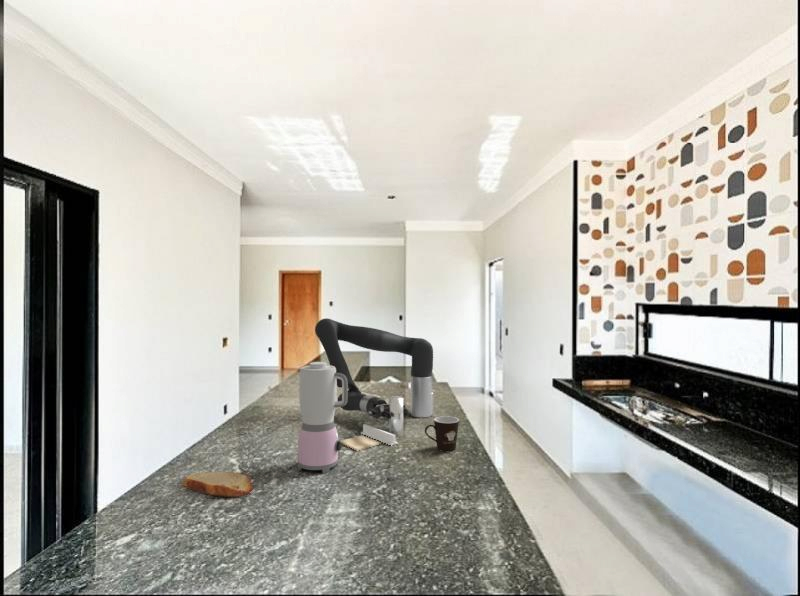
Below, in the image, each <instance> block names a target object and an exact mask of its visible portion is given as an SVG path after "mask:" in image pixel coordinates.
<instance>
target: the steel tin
mask: <svg viewBox="0 0 800 596" xmlns="http://www.w3.org/2000/svg"><path fill="white" fill-rule="evenodd" d="M389 404H390V413H391V419H389V433H391V434H394V435H396V436H399V437H402V436H401V435H403V436H404V414H403V405H404V397H403V396H402V395H393V396H390V397H389Z"/></svg>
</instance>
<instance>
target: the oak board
mask: <svg viewBox="0 0 800 596" xmlns="http://www.w3.org/2000/svg"><path fill="white" fill-rule="evenodd" d="M339 441H340V442H341V443H342V444H343V445H342V446H344V445H345V447H346V446H347V447H346V448H349V447H350V448H349V449H351V448H352V449H351V450H353V449H354V451H355V450H356V452H359V450H360V451H363V450H362V449H364V450H367V449H366V448H368V449H370V448H369V447H371V448H373V447H372V446H375V445H379V444H380V445H381V442H379V441H377V440H374V439H372V438H369V437H367V436H364V435H362V434H360V435H358V436H353V437H350V438H346V439H345V438H344V439H341V440H339ZM380 445H379V446H380ZM375 447H376V446H375Z"/></svg>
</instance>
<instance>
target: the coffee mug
mask: <svg viewBox="0 0 800 596" xmlns="http://www.w3.org/2000/svg"><path fill="white" fill-rule="evenodd" d="M433 421H434V422H433V423H434V425H433V424H429V425H427V426H425V428H424V434H425V435H426V436H427V438H429V439H430V440H432V441H433V442H434V441H435V443H436V449H437V448H438V449H439V450H438V449H437V450H438V451H440V450H442V451H441V452H443V451H451V452H454V451H456V450H457V441H458V433H459V432H458V431H459V425H460V423H459V422H460V419H459V418H458V417H455V416H454V417H453V416H448V415H447V416H443V415H441V416H437V417H434V419H433ZM431 427H432V428H433V429H434V433H435V438H433V437H432V436H430V435H429V434H428V433H427V430H428V428H431ZM455 449H456V450H455ZM453 450H454V451H453Z"/></svg>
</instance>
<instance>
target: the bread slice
mask: <svg viewBox="0 0 800 596" xmlns="http://www.w3.org/2000/svg"><path fill="white" fill-rule="evenodd" d="M181 485H184V486H185V487H184V486H183V487H184V488H186V487H187V488H186V489H188V488H190V489H189V490H191V489H193V490H192V491H194V490H196V491H195V492H197V491H199V492H198V493H200V492H202V493H201V494H204V493H205V495H208V494H210V495H209V496H212V497H220V498H221V497H226V498H240V497H246V496H248V495H250V494H251V493H252V492H253V491H252V490H254V488H253V487H254V486H253V484H252V481H251V479H250V477H249V476H248V475H246V474H243V473H241V472H234V471H233V472H232V471H224V472H223V471H219V472H218V471H217V472H215V471H214V472H213V471H211V472H201V473H193V474H191V475H187V476H185V477H184V478H183V482H182V483H181ZM251 491H252V492H251ZM250 492H251V493H250ZM245 495H246V496H245Z"/></svg>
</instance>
